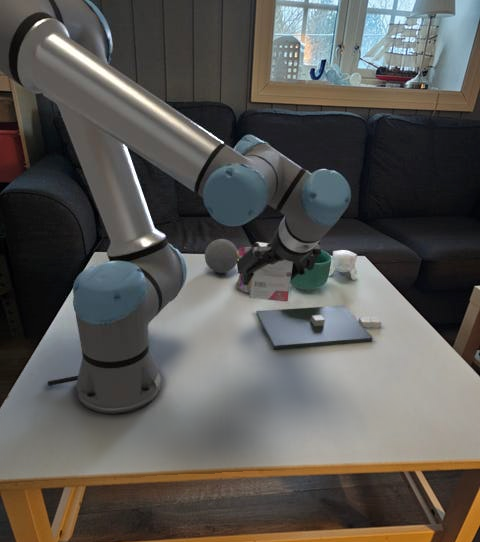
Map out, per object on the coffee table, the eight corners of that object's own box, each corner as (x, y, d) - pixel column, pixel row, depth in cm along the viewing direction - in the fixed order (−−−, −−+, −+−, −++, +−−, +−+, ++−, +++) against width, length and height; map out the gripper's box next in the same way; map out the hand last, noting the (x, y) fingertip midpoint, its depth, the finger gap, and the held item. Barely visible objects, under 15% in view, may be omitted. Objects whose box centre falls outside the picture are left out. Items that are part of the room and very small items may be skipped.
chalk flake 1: (314, 326, 104) (315, 320, 103) (311, 321, 106) (311, 315, 105) (323, 325, 104) (324, 319, 103) (320, 320, 106) (321, 314, 105)
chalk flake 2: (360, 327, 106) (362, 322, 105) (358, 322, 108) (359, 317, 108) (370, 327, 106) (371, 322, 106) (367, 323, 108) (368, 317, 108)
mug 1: (262, 298, 117) (265, 261, 112) (229, 291, 119) (231, 255, 114) (272, 280, 127) (276, 246, 122) (242, 275, 129) (245, 241, 124)
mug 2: (329, 280, 129) (334, 250, 125) (323, 298, 119) (328, 266, 114) (276, 271, 133) (279, 242, 129) (265, 287, 123) (268, 256, 118)
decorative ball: (197, 271, 130) (197, 240, 125) (218, 262, 137) (219, 232, 132) (223, 281, 125) (225, 248, 120) (243, 271, 132) (245, 240, 127)
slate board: (274, 349, 96) (274, 345, 95) (256, 314, 109) (256, 310, 109) (371, 341, 101) (372, 337, 100) (343, 308, 114) (343, 305, 114)
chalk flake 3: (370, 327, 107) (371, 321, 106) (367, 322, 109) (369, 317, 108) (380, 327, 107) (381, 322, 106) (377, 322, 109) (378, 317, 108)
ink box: (287, 293, 100) (295, 244, 94) (287, 302, 95) (295, 252, 90) (250, 289, 100) (255, 240, 94) (249, 298, 96) (254, 248, 90)
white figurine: (327, 274, 140) (326, 276, 126) (331, 248, 139) (331, 246, 125) (354, 278, 139) (356, 280, 124) (358, 252, 138) (362, 251, 123)
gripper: (240, 256, 74) (220, 296, 96) (357, 252, 79) (313, 291, 101) (235, 217, 76) (217, 265, 97) (349, 215, 81) (308, 261, 102)
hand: (266, 278), depth 99 cm, fingers closed on ink box, 9 cm apart
